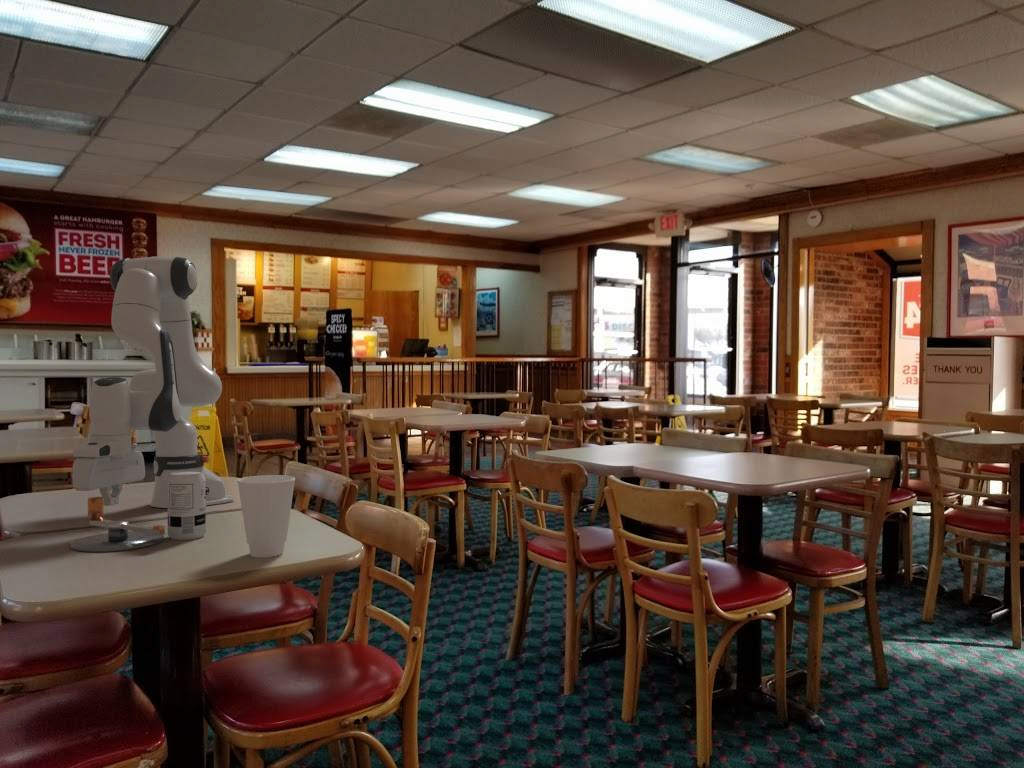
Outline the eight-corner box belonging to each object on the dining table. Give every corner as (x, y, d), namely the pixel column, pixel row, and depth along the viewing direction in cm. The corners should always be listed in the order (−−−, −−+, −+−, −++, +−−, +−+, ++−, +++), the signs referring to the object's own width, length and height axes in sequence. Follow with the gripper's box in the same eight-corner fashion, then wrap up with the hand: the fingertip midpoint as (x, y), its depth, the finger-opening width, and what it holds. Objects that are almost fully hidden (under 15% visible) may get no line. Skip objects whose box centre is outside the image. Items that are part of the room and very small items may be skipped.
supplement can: (161, 537, 188) (161, 473, 188) (196, 531, 195) (195, 469, 194) (177, 542, 183) (176, 476, 183) (212, 536, 189) (211, 472, 189)
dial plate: (149, 530, 196) (148, 518, 196) (175, 543, 182) (175, 530, 182) (61, 541, 184) (61, 528, 184) (82, 556, 169) (82, 542, 169)
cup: (240, 562, 164) (239, 484, 164) (235, 550, 175) (234, 476, 175) (300, 557, 169) (299, 480, 169) (291, 545, 180) (291, 473, 180)
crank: (170, 533, 177) (170, 504, 177) (153, 536, 173) (152, 508, 173) (100, 522, 189) (100, 495, 189) (82, 525, 185) (82, 498, 185)
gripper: (129, 442, 202) (129, 497, 202) (66, 450, 182) (67, 511, 182) (151, 442, 200) (151, 498, 201) (90, 450, 181) (91, 512, 181)
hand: (111, 504), depth 191 cm, fingers closed
